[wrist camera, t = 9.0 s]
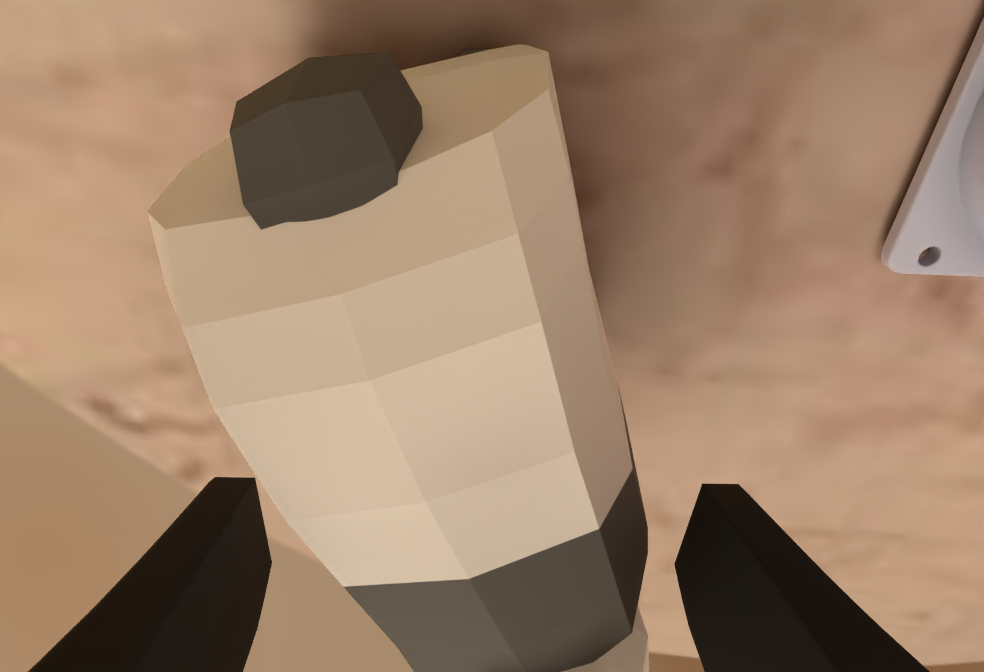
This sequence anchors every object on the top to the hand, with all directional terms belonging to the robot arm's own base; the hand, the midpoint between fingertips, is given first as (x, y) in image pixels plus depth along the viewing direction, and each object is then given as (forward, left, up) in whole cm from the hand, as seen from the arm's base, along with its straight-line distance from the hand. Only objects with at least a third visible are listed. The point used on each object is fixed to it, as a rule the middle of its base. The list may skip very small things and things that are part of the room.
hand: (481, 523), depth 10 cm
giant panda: (0, -1, -7) cm, 7 cm away
